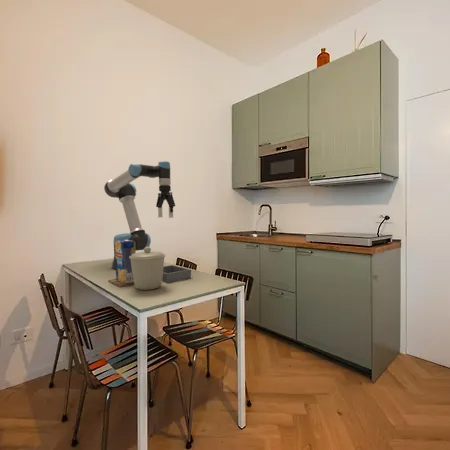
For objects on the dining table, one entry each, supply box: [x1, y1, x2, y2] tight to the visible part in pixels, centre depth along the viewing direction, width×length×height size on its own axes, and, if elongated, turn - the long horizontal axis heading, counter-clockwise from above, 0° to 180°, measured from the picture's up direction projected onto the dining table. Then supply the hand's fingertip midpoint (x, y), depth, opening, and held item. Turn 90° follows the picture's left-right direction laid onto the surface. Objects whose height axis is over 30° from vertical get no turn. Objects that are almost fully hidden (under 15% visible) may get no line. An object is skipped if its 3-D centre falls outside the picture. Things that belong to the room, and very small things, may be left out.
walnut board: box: [107, 278, 135, 288], centre depth 161 cm, size 16×14×1 cm
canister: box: [129, 246, 167, 291], centre depth 149 cm, size 18×18×21 cm
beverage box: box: [115, 240, 137, 283], centre depth 161 cm, size 7×11×22 cm, turn 42°
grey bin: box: [162, 264, 192, 284], centre depth 171 cm, size 20×16×5 cm
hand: (165, 217), depth 193 cm, fingers open, 13 cm apart
